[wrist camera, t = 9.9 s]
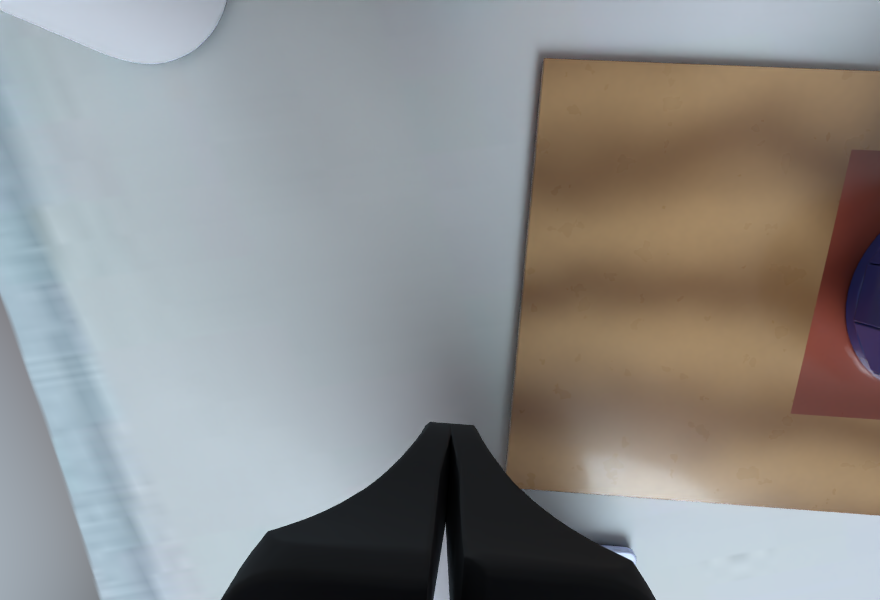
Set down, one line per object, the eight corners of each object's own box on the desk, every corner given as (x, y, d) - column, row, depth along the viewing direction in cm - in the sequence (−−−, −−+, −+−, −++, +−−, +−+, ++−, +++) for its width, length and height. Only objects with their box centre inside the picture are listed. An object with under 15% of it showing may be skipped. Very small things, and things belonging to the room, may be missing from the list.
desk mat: (1010, 520, 22) (1020, 526, 21) (504, 483, 23) (504, 488, 22) (1168, 85, 18) (1185, 82, 17) (542, 61, 19) (544, 57, 18)
